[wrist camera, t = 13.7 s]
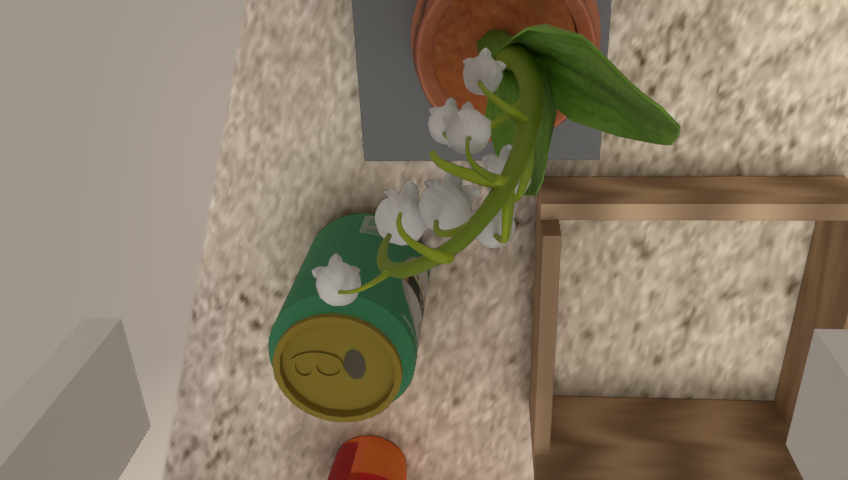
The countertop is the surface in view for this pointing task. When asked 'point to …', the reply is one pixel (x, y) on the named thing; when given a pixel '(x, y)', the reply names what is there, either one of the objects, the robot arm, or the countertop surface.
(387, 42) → the mat
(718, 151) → the countertop surface
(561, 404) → the frame
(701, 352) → the countertop surface
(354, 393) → the beverage can
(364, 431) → the countertop surface
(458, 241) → the potted flower
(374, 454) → the paper cup
